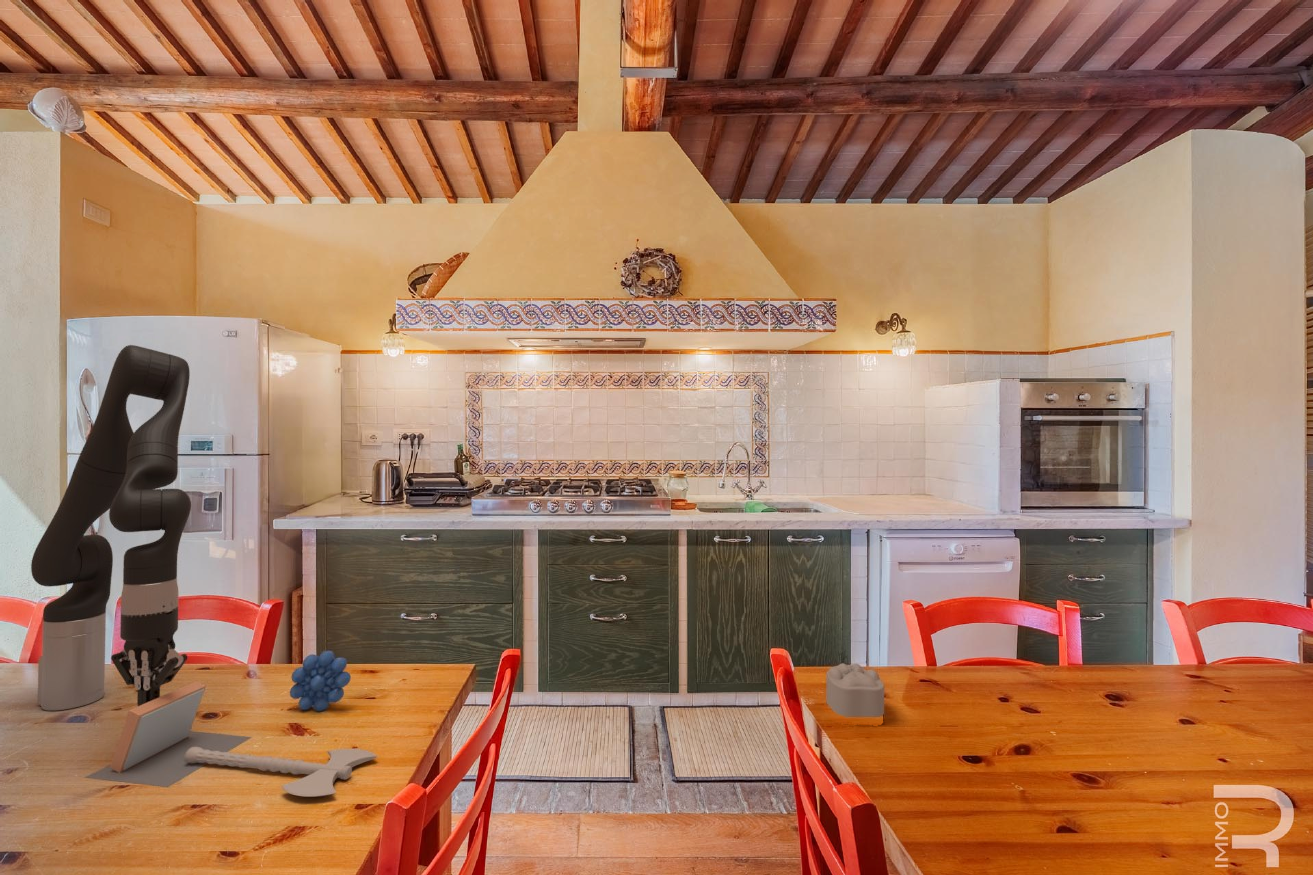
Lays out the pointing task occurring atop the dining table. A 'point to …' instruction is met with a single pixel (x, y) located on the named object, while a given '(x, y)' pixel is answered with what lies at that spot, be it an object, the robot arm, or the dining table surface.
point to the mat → (171, 761)
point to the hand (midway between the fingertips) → (148, 709)
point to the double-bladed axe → (291, 767)
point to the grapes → (320, 681)
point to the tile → (157, 725)
